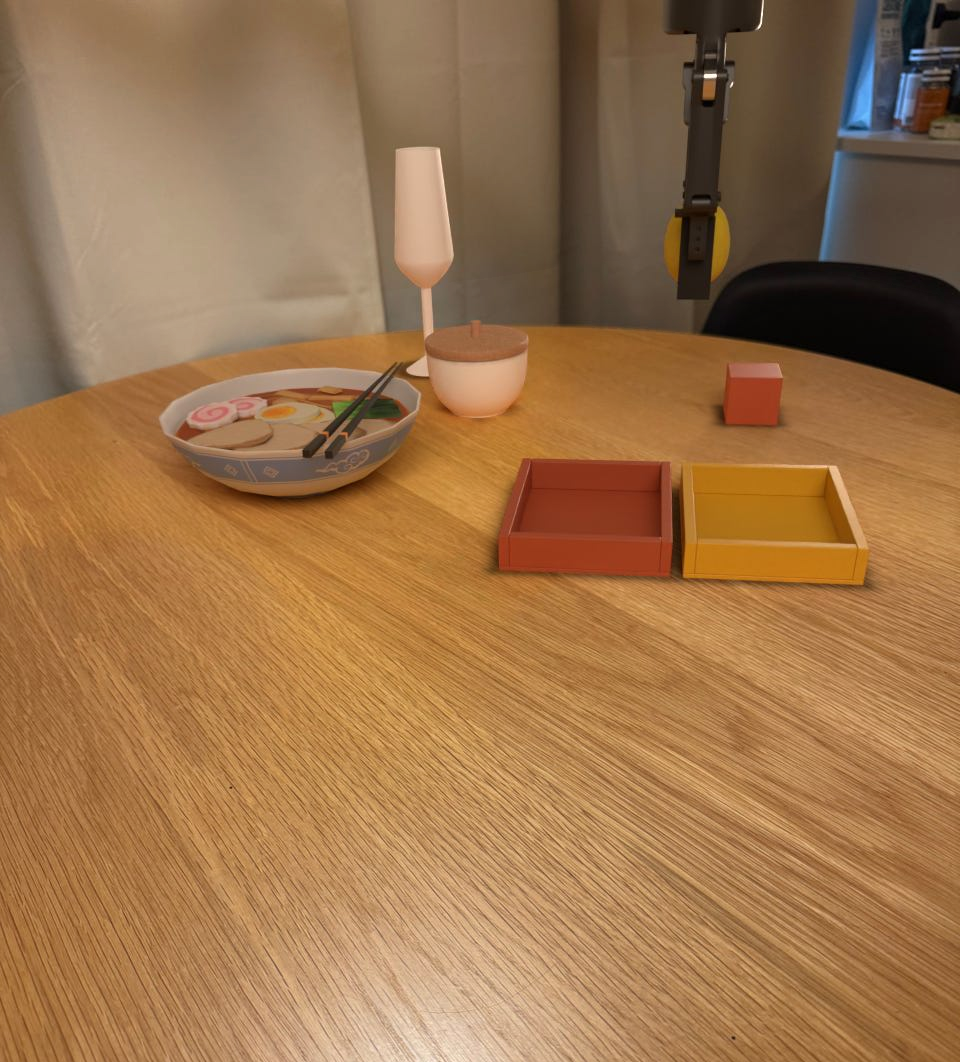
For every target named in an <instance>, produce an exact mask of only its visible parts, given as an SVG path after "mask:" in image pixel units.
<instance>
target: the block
mask: <svg viewBox="0 0 960 1062" xmlns="http://www.w3.org/2000/svg"><path fill="white" fill-rule="evenodd" d="M783 380H784V378H783V374H782V372H781V369H780V366H779V363H777V362H727V363H726V374H725V385H724V395H723V405H722V410H723V417H724V422H725V425H751V426H752V425H758V426H759V425H760V426H766V425H767V426H778V421H779V413H780V406H781V405H780V404H781V397H782V391H783V390H782V389H783V382H784V381H783Z"/></svg>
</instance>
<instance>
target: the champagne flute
mask: <svg viewBox="0 0 960 1062" xmlns="http://www.w3.org/2000/svg"><path fill="white" fill-rule="evenodd" d="M394 168H395V173H394V175H395V178H394V246H393V247H394V248H393V249H394V251H393V252H394V253H393V256H394V262H395V265H396V266H397V267H398V269H399V270H400V271H401V273H402V274H403V275H404V276H405V277H406V278H407V279H408V280H410V282H411V283H413V284H414V285H415V286H417V287H419V288H420V294H421V295H420V296H421V313H422V329H423V345H424V347H425V343H424V341H425V339H426V337H427V336H429V335H430V334H432V333H434V332H435V330H434V317H433V316H434V315H433V299H432V297H433V295H432V287H433V286H435V285H436V284H437V283H438V282H440V280H441V279H442V278H443V277H444V276H445V275H446V273H447V272H448V270H449V269H450V267H451V265H452V263H453V261H454V256H455V254H454V247H453V246H454V245H453V238H452V233H451V231H452V230H451V226H450V225H451V224H450V217H449V209H448V201H447V194H446V193H447V192H446V186H445V179H444V172H443V170H444V169H443V164H442V157H441V149H440V147H437V146H412V147H402V148H397V149H395V167H394ZM405 370H406V371H405V372H407V374H409V375H411V376H416V377H417V376H418V377H429V373H428V367H427V356H426V351H425V350H424V356H422V357H421V358H420V359H418V360H416V361H415V362H414V363H412V364H411V365H410V366H408V367H407V368H406V369H405Z"/></svg>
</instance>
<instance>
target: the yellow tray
mask: <svg viewBox="0 0 960 1062" xmlns="http://www.w3.org/2000/svg"><path fill="white" fill-rule="evenodd" d="M680 467H681V468H680V478H679V479H680V480H679V516H680V517H679V518H680V541H681V542H680V543H681V569H682V578H685V579H686V578H687V579H708V580H709V579H710V580H731V581H732V580H735V581H759V582H780V583H781V582H785V583H805V584H806V583H807V584H831V585H832V584H833V585H857V586H864V583H865V579H866V572H867V567H868V562H869V556H870V550H871V548H870V546H869V543H868V541H867V539H866V536H865V533H864V531H863V528H862V526H861V524H860V523H861V522H860V521H859V518H858V515H857V513H856V511H855V508H854V506H853V502H852V500H851V497H850V496H849V493H848V490H847V488H846V486H845V482H844V480H843V477H842V475H841V472H840V470H839V467H838V466H837V465H830V464H829V465H828V464H827V465H825V464H824V465H822V464H820V465H819V464H786V463H785V464H782V463H743V462H741V463H740V462H699V461H692V462H691V461H682V462H681V466H680Z"/></svg>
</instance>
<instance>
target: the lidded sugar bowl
mask: <svg viewBox="0 0 960 1062" xmlns="http://www.w3.org/2000/svg"><path fill="white" fill-rule="evenodd" d="M424 343H425V346H424V352H425V351H426V356H427V367H428V373H429V376H428V378H429V382H430V385H431V388H432V390H433V392H434V395H435V396H436V398H437V399H438V400H439V401H440V402H441V404H442V406H444V407H445V408H447V409H448V410H449V411H450V412H451V413H452V414H453V415H455V416H458V417H462V418H468V419H469V418H470V419H481V418H483V419H484V418H491V417H495V416H499V415H501V414H503V413H505V412H507V410H508V408H510V407H511V406H512V405H513V404H514V403H515V402H516V400H517V399H518V398H519V396H520V394H521V393H522V390H523V388H524V385H525V382H526V378H527V371H528V357H529V356H528V348H529V344H530V343H529V335H528V334H527V333H526V332H525V331H523V330H522V329H519V328H516V327H512V326H507V325H499V324H482V321H481V320H479V319H473V320H471V321H470V324H464V325H458V326H451V327H447V328H443V329H439V330H437V331H434V333H432V334H430V335H429V336H427V337H426V339H425V341H424V340H423V344H424Z"/></svg>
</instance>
